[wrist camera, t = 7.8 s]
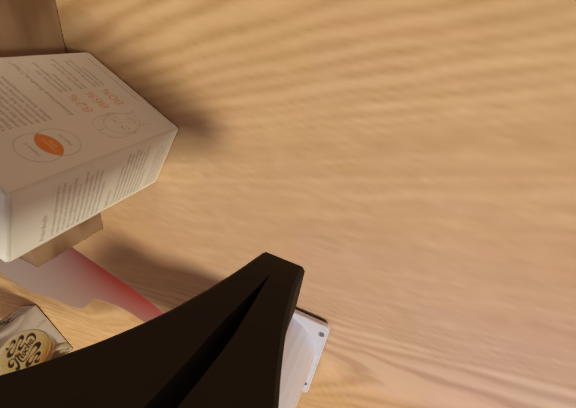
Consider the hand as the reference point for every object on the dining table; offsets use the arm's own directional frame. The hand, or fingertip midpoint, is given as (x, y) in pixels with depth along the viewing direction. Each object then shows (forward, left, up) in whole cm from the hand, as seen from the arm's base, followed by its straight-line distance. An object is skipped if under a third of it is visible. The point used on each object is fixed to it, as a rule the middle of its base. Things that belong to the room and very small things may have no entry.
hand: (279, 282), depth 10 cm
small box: (-1, +16, -10) cm, 19 cm away
